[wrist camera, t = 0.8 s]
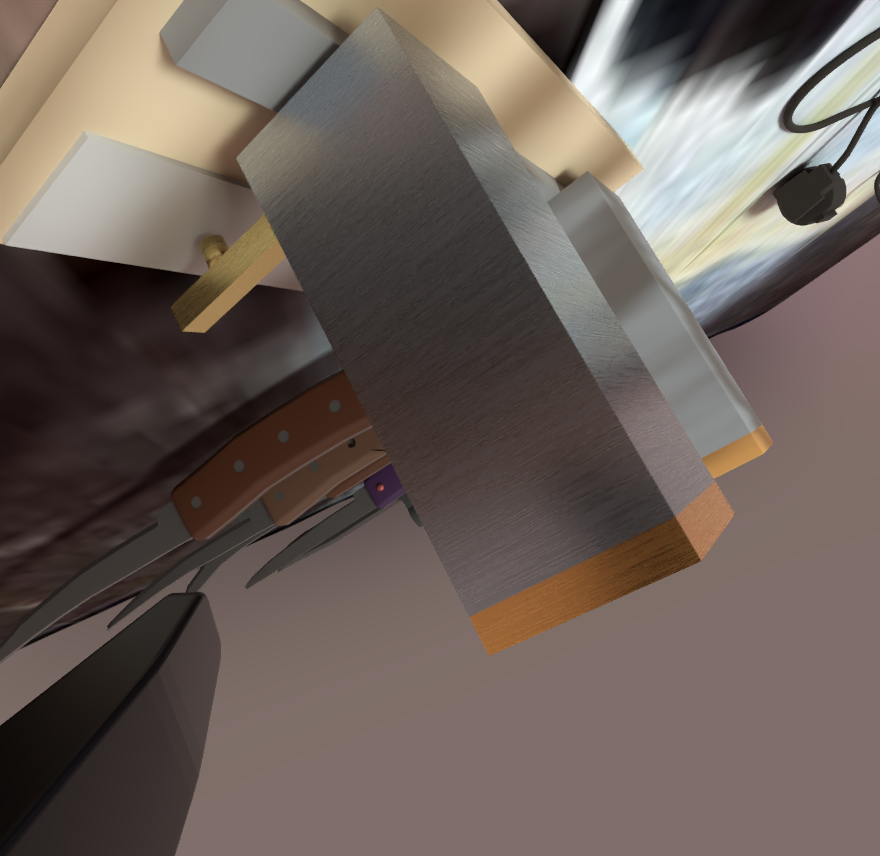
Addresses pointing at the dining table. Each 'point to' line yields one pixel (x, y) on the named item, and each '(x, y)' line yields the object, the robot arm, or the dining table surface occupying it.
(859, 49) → the soldering iron
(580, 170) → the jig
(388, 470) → the knife set
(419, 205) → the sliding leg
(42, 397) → the dining table surface
